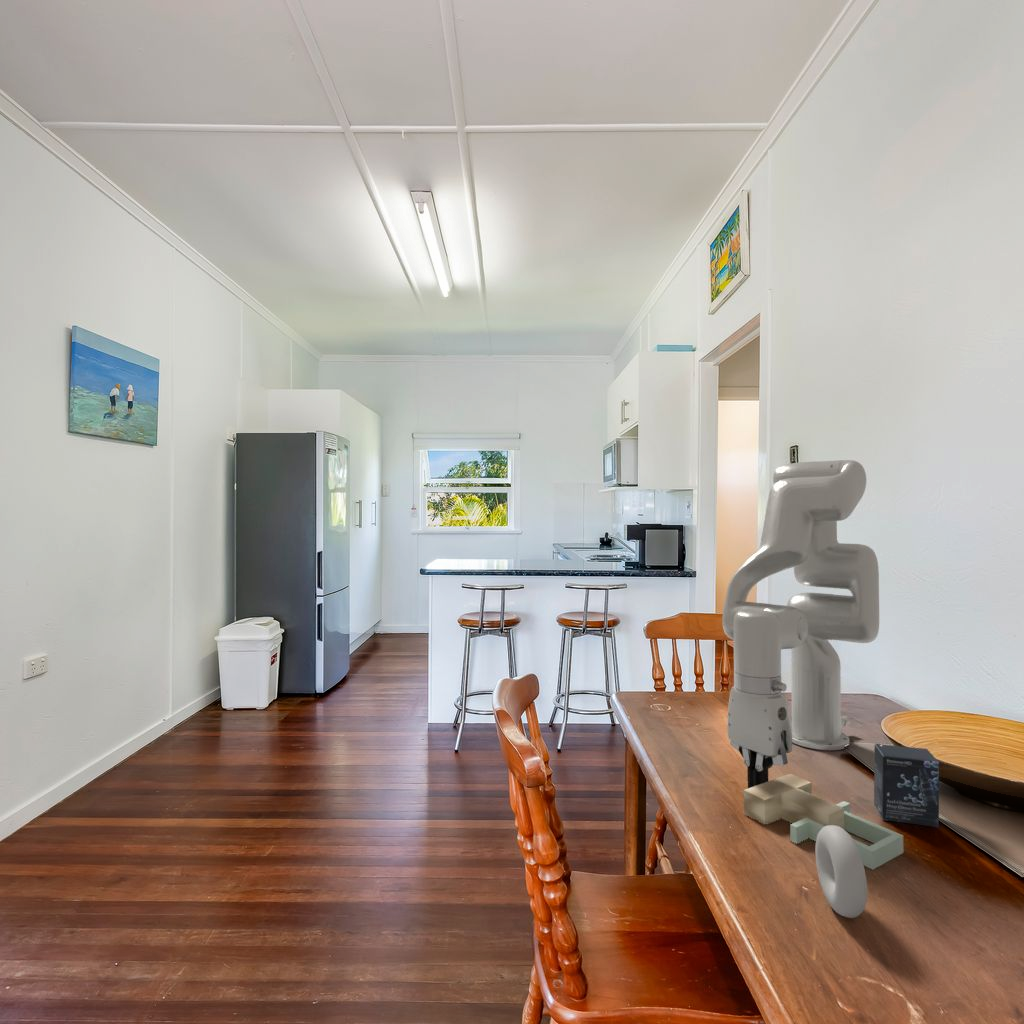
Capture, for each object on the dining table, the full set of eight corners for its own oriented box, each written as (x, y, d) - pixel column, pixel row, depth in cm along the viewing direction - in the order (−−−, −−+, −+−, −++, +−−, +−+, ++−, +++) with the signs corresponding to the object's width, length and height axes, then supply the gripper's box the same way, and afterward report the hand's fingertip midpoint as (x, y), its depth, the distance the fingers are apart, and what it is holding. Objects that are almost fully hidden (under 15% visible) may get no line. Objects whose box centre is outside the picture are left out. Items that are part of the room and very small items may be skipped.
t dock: (844, 816, 99) (843, 801, 99) (914, 846, 90) (913, 829, 90) (790, 841, 92) (790, 824, 92) (860, 876, 83) (860, 858, 83)
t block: (743, 814, 100) (743, 790, 100) (790, 796, 106) (790, 773, 106) (812, 849, 89) (811, 822, 89) (859, 827, 96) (859, 801, 96)
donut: (811, 884, 81) (810, 809, 81) (838, 886, 81) (838, 810, 81) (841, 936, 71) (840, 851, 71) (873, 939, 71) (872, 852, 71)
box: (883, 821, 97) (882, 755, 97) (873, 805, 103) (873, 742, 103) (940, 829, 95) (939, 761, 95) (927, 811, 100) (927, 747, 100)
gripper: (811, 690, 100) (811, 802, 100) (736, 670, 113) (736, 769, 113) (782, 697, 96) (782, 814, 96) (707, 676, 109) (708, 779, 109)
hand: (757, 790), depth 105 cm, fingers closed
